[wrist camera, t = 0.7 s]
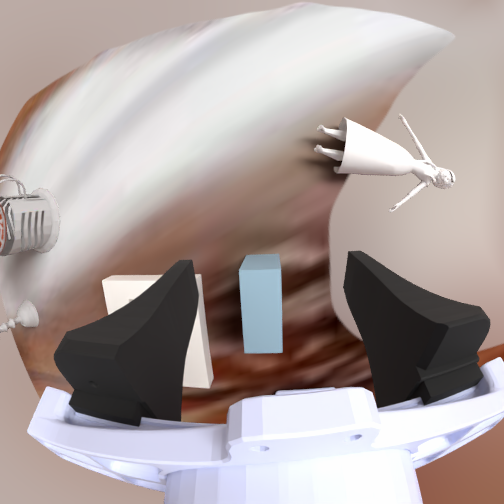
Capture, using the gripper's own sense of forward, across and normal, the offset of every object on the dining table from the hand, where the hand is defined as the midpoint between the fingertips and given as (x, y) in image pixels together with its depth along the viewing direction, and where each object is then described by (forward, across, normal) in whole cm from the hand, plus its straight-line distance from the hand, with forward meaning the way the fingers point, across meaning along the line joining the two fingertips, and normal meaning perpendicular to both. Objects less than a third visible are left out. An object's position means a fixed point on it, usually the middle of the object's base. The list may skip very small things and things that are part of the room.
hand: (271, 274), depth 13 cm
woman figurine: (+19, -15, -2) cm, 24 cm away
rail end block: (+14, 0, +12) cm, 18 cm away
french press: (+20, +32, +2) cm, 38 cm away
